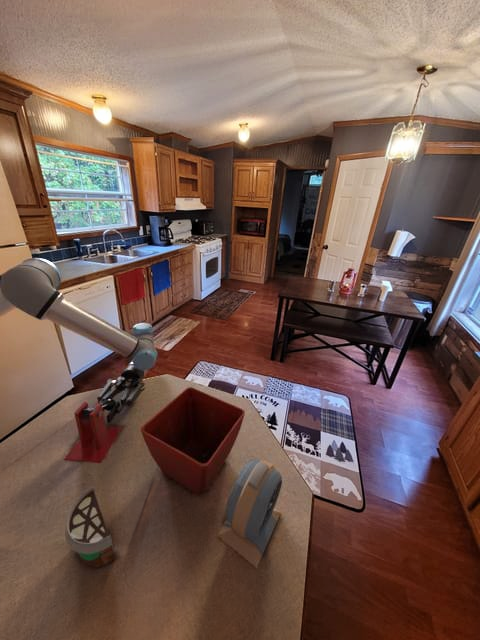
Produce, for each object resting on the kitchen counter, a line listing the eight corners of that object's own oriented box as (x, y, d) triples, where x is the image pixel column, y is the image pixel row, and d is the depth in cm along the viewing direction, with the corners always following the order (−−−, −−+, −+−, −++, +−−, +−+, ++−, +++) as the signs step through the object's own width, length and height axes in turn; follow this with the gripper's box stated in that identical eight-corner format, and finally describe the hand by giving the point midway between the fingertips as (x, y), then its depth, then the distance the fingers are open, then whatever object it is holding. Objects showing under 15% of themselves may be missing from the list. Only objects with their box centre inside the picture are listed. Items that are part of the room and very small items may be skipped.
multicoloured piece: (67, 533, 53) (57, 503, 49) (99, 513, 57) (92, 484, 53) (81, 596, 45) (71, 566, 41) (117, 567, 49) (111, 537, 45)
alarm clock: (254, 573, 50) (265, 519, 43) (214, 540, 54) (218, 486, 47) (282, 509, 61) (294, 458, 54) (247, 486, 66) (254, 436, 59)
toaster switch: (90, 427, 79) (83, 391, 73) (122, 430, 79) (117, 394, 73) (64, 462, 68) (53, 423, 62) (101, 465, 68) (94, 427, 62)
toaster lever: (106, 409, 81) (108, 397, 81) (117, 410, 81) (119, 398, 81) (78, 420, 67) (80, 406, 67) (92, 422, 67) (94, 408, 67)
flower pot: (143, 476, 66) (138, 428, 59) (189, 427, 82) (189, 385, 75) (203, 517, 58) (205, 467, 52) (241, 455, 74) (246, 410, 67)
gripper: (157, 383, 98) (130, 431, 76) (114, 378, 98) (75, 425, 76) (156, 366, 95) (127, 412, 73) (112, 362, 95) (71, 406, 73)
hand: (101, 418), depth 75 cm, fingers closed on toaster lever, 3 cm apart
